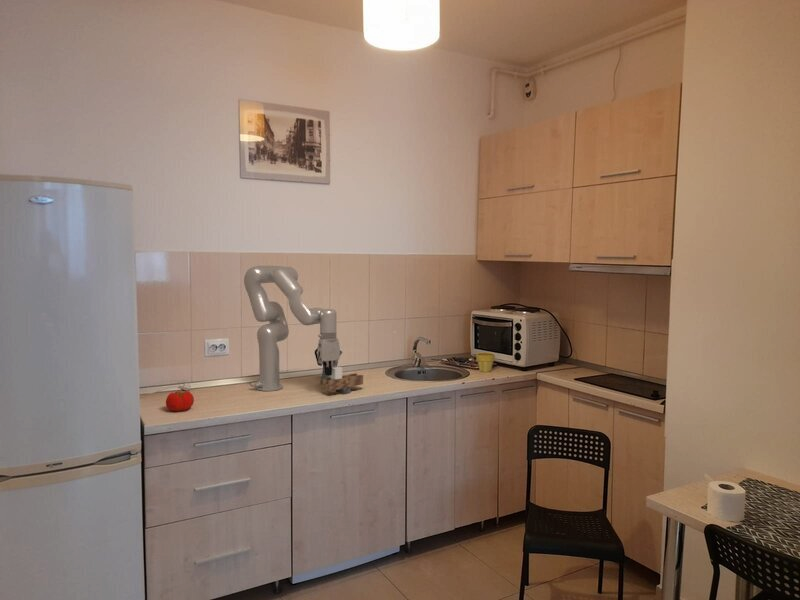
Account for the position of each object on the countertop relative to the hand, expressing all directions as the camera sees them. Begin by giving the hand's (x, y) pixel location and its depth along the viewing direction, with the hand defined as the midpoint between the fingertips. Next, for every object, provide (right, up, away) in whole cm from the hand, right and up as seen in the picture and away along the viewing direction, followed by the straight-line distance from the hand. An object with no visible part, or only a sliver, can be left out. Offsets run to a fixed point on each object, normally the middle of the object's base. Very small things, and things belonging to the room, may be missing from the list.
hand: (328, 374), depth 254 cm
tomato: (-59, -11, -25) cm, 65 cm away
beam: (+6, -9, +7) cm, 13 cm away
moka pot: (-3, -8, +25) cm, 27 cm away
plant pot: (+82, -6, +60) cm, 102 cm away
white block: (+3, -4, +3) cm, 6 cm away
